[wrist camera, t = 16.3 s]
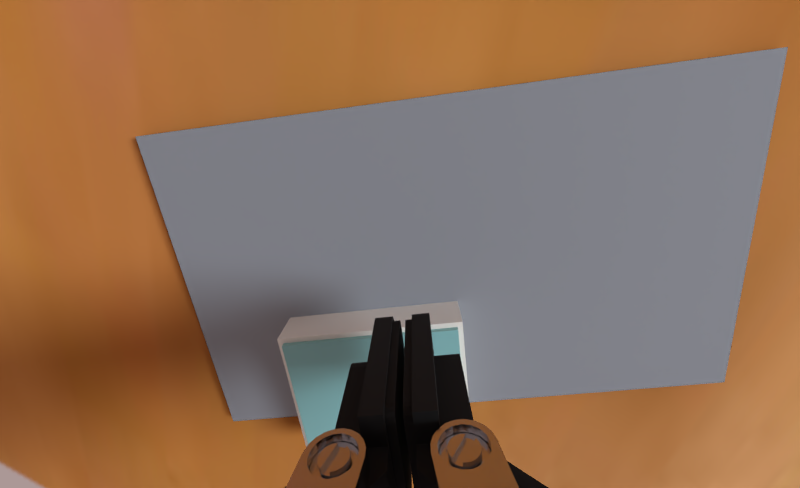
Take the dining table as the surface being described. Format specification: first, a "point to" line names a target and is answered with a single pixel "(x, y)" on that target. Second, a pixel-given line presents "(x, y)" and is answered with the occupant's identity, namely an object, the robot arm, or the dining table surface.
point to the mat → (485, 225)
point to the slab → (349, 355)
